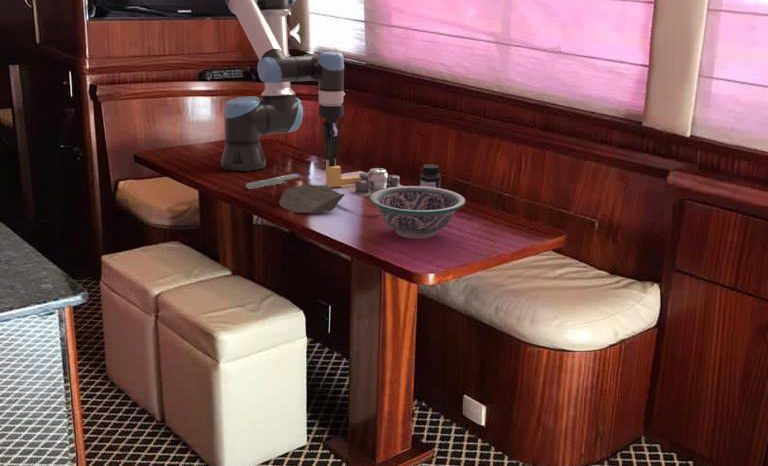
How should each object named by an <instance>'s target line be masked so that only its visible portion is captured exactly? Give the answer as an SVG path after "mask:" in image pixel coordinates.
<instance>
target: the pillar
mask: <svg viewBox="0 0 768 466" xmlns="http://www.w3.org/2000/svg"><path fill="white" fill-rule="evenodd" d="M297 178H301V177H300V174H298V173H292V174H286V175H281V176H277V177H272V178H267V179H262V180H257V181H252V182H251V181H250V182H247V183H246V184H245V188H248V189H254V188H259V187H264V186H270V185H274V186H277V185H276V184H279V185H283V184H282V183H284V184H287V183H288V182H287V181H288V180H294V179H297ZM270 187H271V186H270Z"/></svg>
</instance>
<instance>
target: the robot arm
mask: <svg viewBox="0 0 768 466" xmlns="http://www.w3.org/2000/svg"><path fill="white" fill-rule="evenodd" d="M296 1H297V0H225V2H226V5H227V7H228V9H229V11H230V12H231V13H232V14H233V15H235V16H236V18H237V20H238V21H239V24H240V25H241V27H242V29H243V31H244V34H245V35H246V36H247V38H248V40H249V42H250V44H251V47H252V48H253V51H254V52H255V54H256V55H257V57H258V62H257V69H256V70H257V73H258V78H259V79H260V81H261V82H263V83H264V90H263V91H262V92H261V94H260V97H261V99H260V98H259V97H258V96H254V95H249V96H245V95H244V96H238V97H234V98H231V99H229V100H227V101H226V102H225V104H224V110H223V111H224V112H223V118H224V136H225V137H224V139H225V142H224V143H225V146H224V149H223V152H222V156H221V158H220V167H221V166H222V167H223V168H226V169H230V170H240V171H247V172H252V171H251V170H256V171H258V170H257V169H261V168H263V169H265V168H266V167H267V162H266V157H265V154H264V151H263V149H262V146H261V136H264V135H274V134H287V133H291V132H296V131H297V130H298V129H299V128H300V126H301V124H302V122H303V116H304V108H303V105H302V101H301V100H300V98H298V97H296V92H295V91H294V90H293V89H292V88H291V82H307V81H309V82H311V81H315V82H318V103H319V105H318V116H319V117H320V118H322V119H324V122H323V123H322V128H323V129H322V130H323V149H324V150H323V151H324V155H325V161H326V163H325V164H326V165H325V166H326V167H329V166H337V159H338V157H339V145H340V144H339V143H340V135H341V130H340V125H339V123H338V120H339V119H341V118H343V117H344V105H343V103H344V97H345V96H346V93H345V92H344V88H345V87H344V86H345V85H344V83H345V82H344V81H345V64H344V63H345V61H344V57H345V56H344V54H343V53H341V52H337V51H321V52H320V53H319V54H318V55H317V54H309V53H307V54H304V55H299V56H297V55H296V56H289V55H290V54H289V40H288V39H289V38H288V24H287V16H288V14H289V13H290V12H291V7H292V6H293V5H294V4H295V3H296ZM265 166H266V167H265ZM264 167H265V168H264ZM326 167H325V168H326ZM261 170H262V169H261Z"/></svg>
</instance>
